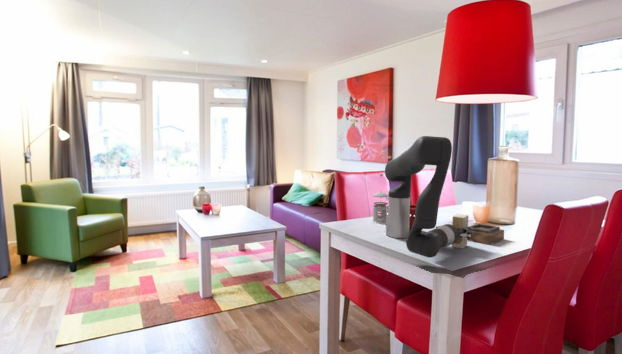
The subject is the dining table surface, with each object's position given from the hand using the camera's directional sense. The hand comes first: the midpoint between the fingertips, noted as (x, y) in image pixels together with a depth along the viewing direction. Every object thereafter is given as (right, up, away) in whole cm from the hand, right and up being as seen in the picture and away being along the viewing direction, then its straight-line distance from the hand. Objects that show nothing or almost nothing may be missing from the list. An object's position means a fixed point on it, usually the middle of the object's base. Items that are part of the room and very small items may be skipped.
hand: (462, 228), depth 150 cm
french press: (-24, -3, +46) cm, 52 cm away
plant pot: (-15, -5, +24) cm, 29 cm away
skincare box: (-2, -7, -1) cm, 7 cm away
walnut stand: (+12, -6, +10) cm, 17 cm away
